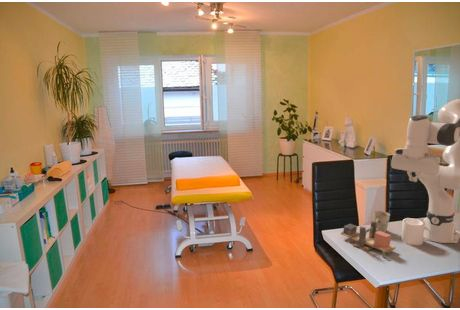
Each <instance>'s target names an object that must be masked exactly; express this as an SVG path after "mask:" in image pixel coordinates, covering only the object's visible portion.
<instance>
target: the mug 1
mask: <svg viewBox="0 0 460 310" xmlns="http://www.w3.org/2000/svg"><path fill="white" fill-rule="evenodd" d="M390 217H391V213H389V212H387V211H382V210H381V211H380V210H378V211H377V210H376V211H374V212H373V221H375V222H377V226H376V232H378V231H381V232H384V233H387V230H388V227H389V226H388V225H389V222H390Z"/></svg>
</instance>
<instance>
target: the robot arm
mask: <svg viewBox="0 0 460 310" xmlns="http://www.w3.org/2000/svg"><path fill="white" fill-rule="evenodd" d="M429 118H430V117H428V116H427V115H421V114H419V115H413V116H411V117H409V120H408V123H407V127H406V128H407V129H406V142H405V145H404V147H399V148H394V150H393V153H394V154H392V158H391V161H390V167H391V169H395V170H400V171H401V170H402V171H406V173H407V176H408V181H410V182H414V183H417V182H418V181H420V182H421V184H423V186H424V187H425V189H426V191H427V194H428V209H427V211H426V217H425V218H424V219H423V220H422V221H423V222H424V223H425V227H429V228H430V230H431V239H430V240H429V241H432V242H435V243H441V244H458V243H459V241H460V231H459V230H457V228H458V224H457V223H456V222H455V220H454V219H455V218H454V217H455V214H456V212H455V211H454V205H455V200H454V198H453V197H452V196H451V195H450V194H449V193H448V192H447V191H446V190H445V189H449V190H453V191H460V98H457V99H453V100H451V101H449V102H447V103H446V104H444V105H443V106H442V107H441V108H440V109H439V111H438V113H437V119H438V121H439V122H433V121H430V119H429ZM428 144H433V145H441V146H446V147H445V149H444V150H443V153H442V159H443V160H444V162H445V163H447V164H448V165H446V166H445V165H440V163H441V157H440V156H439V155H438V154H435V153H434V154H433V153H428ZM413 173H415V176H413V175H412V174H413ZM429 236H430V233H429V230H426V229H424V237H423V238H429Z"/></svg>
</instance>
